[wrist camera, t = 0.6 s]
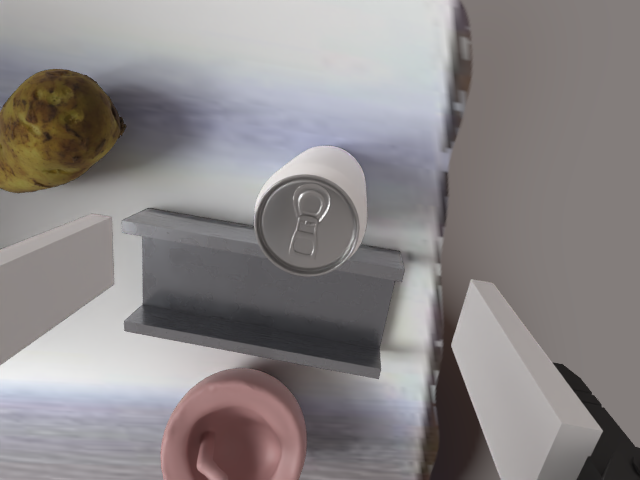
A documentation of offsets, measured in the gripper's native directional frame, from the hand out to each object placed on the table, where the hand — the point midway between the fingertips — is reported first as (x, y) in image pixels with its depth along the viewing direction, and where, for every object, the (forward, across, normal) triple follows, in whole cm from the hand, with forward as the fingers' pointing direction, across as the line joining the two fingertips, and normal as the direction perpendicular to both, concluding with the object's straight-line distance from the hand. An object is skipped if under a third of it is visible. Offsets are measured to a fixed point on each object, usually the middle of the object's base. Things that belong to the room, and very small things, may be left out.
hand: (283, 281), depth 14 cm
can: (+19, 0, 0) cm, 19 cm away
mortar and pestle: (+19, -4, -22) cm, 29 cm away
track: (+19, -4, -10) cm, 21 cm away
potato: (+19, -21, +1) cm, 28 cm away
